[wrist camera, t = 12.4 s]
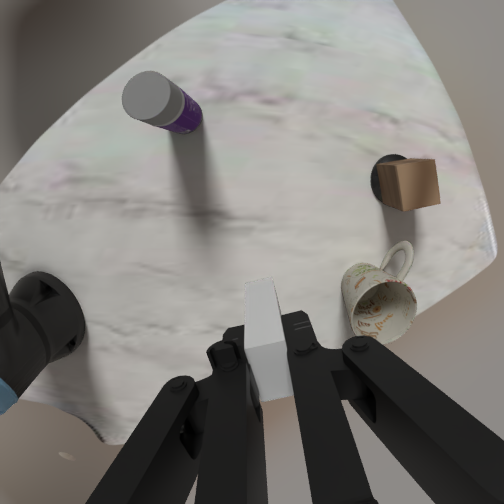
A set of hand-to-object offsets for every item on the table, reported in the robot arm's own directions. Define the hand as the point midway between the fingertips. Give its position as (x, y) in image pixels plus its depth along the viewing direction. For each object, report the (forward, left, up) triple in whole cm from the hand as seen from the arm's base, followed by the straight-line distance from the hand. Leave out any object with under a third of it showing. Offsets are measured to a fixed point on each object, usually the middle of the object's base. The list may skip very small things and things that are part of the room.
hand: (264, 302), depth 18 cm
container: (-6, +15, -25) cm, 30 cm away
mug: (+13, -10, -25) cm, 30 cm away
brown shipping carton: (+19, +2, -24) cm, 30 cm away
